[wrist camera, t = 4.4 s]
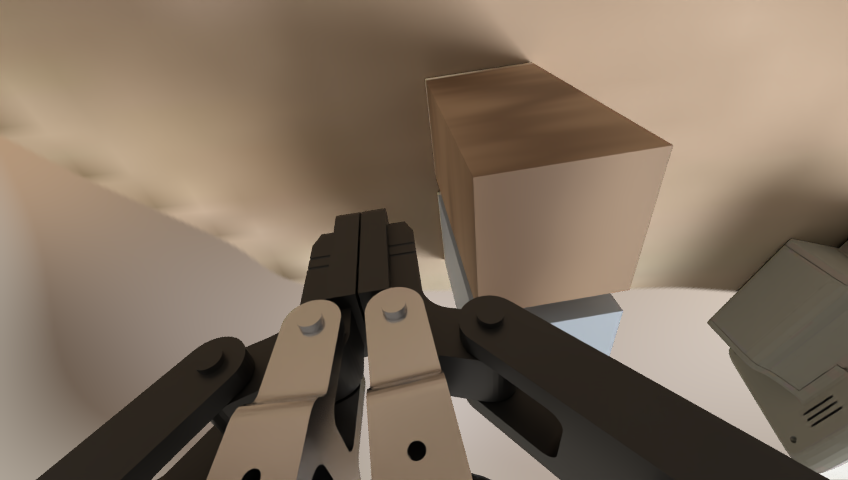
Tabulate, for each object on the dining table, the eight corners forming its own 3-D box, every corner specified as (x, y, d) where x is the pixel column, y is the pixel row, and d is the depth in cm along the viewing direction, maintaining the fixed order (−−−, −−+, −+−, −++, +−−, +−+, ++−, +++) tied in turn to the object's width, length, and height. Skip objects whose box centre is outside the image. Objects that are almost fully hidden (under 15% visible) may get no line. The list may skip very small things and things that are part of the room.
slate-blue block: (525, 177, 21) (623, 310, 13) (521, 247, 24) (598, 390, 16) (437, 192, 21) (479, 335, 13) (444, 260, 24) (482, 411, 16)
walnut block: (531, 62, 17) (672, 145, 9) (526, 161, 20) (629, 290, 12) (424, 78, 17) (472, 177, 9) (435, 175, 20) (478, 315, 12)
